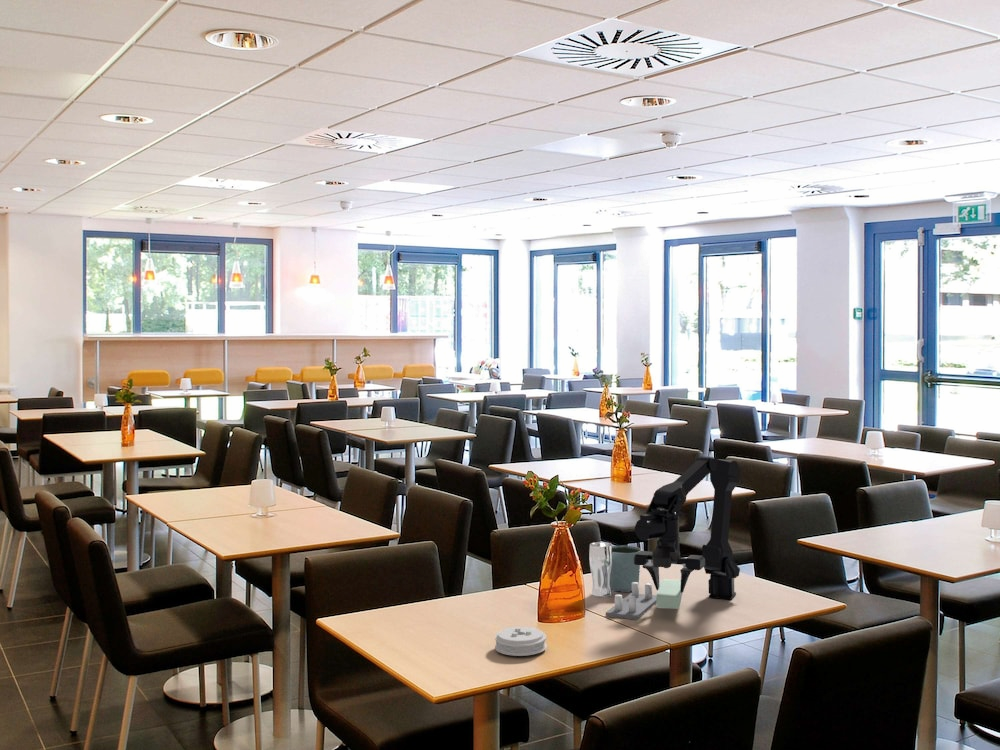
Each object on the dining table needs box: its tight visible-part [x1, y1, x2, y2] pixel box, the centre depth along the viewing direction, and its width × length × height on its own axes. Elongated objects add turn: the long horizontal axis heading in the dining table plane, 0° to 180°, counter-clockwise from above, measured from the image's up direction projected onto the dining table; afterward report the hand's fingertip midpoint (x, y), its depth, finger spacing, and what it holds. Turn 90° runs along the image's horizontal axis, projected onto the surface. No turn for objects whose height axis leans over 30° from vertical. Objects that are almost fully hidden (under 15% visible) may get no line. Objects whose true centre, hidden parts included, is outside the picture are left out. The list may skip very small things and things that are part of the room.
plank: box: [655, 578, 683, 610], centre depth 254 cm, size 6×18×3 cm, turn 166°
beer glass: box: [588, 541, 613, 598], centre depth 273 cm, size 7×7×15 cm
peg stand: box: [605, 582, 657, 621], centre depth 259 cm, size 9×21×5 cm, turn 153°
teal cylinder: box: [611, 545, 642, 593], centre depth 279 cm, size 10×10×12 cm
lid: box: [494, 626, 548, 657], centre depth 227 cm, size 13×13×5 cm
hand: (669, 591), depth 254 cm, fingers closed on plank, 6 cm apart
